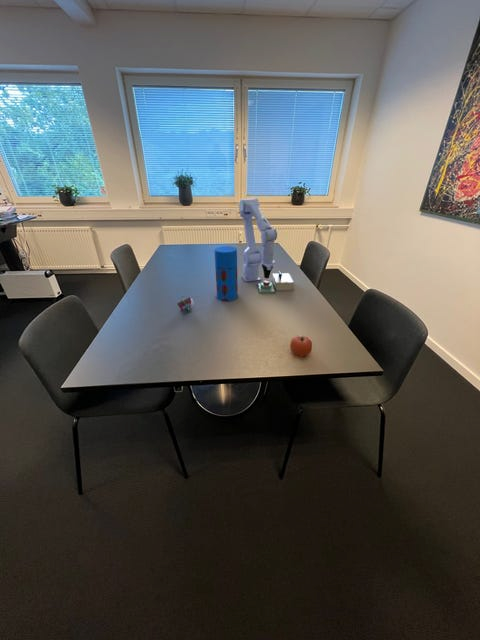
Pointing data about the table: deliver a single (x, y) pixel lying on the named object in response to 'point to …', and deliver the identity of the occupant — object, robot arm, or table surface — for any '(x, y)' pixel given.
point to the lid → (282, 278)
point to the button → (266, 282)
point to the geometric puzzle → (185, 303)
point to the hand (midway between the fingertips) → (266, 277)
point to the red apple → (301, 345)
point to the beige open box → (283, 286)
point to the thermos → (226, 272)
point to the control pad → (266, 288)
